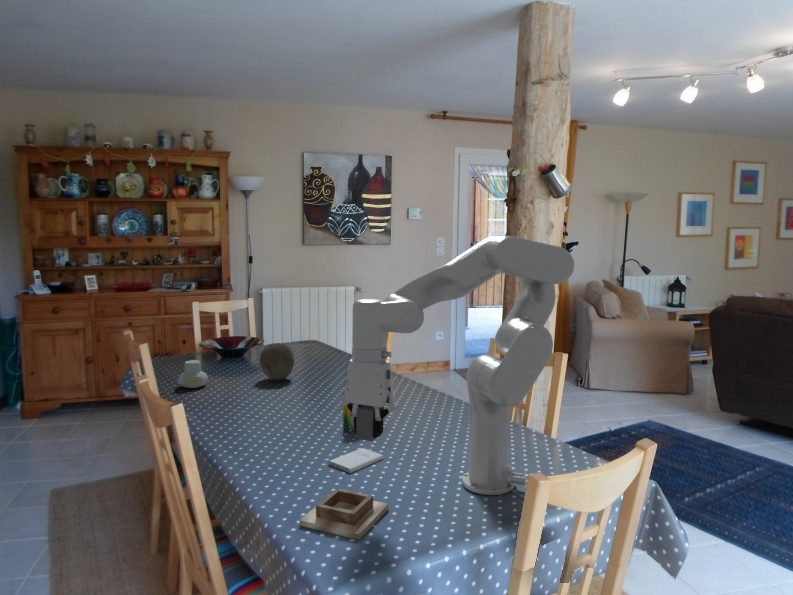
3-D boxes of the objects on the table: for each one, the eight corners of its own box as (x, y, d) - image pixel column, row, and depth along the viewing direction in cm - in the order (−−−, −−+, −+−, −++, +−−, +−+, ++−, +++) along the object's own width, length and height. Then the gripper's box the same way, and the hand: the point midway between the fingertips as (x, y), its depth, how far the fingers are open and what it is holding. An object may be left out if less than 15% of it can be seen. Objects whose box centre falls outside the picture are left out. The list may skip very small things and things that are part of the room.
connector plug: (380, 435, 132) (380, 405, 131) (372, 441, 128) (372, 410, 128) (364, 432, 134) (364, 403, 133) (356, 438, 130) (356, 408, 129)
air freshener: (208, 382, 233) (207, 358, 231) (208, 388, 225) (207, 362, 224) (178, 385, 229) (177, 360, 228) (178, 390, 221) (176, 365, 220)
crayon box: (349, 432, 176) (349, 395, 175) (342, 430, 178) (342, 393, 177) (366, 426, 182) (366, 390, 180) (359, 424, 183) (359, 388, 182)
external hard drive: (328, 466, 152) (361, 452, 162) (350, 475, 147) (383, 460, 156) (328, 460, 152) (361, 447, 162) (350, 468, 147) (383, 454, 156)
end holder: (388, 508, 128) (388, 492, 128) (359, 539, 116) (359, 522, 115) (333, 497, 134) (332, 481, 133) (299, 525, 121) (299, 508, 121)
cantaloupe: (300, 380, 236) (300, 344, 234) (267, 386, 228) (266, 348, 226) (286, 373, 247) (285, 338, 246) (254, 378, 239) (253, 342, 238)
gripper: (410, 355, 129) (409, 435, 131) (344, 348, 136) (344, 424, 138) (396, 362, 122) (395, 446, 124) (328, 354, 129) (327, 433, 131)
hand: (368, 433), depth 131 cm, fingers closed on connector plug, 4 cm apart
